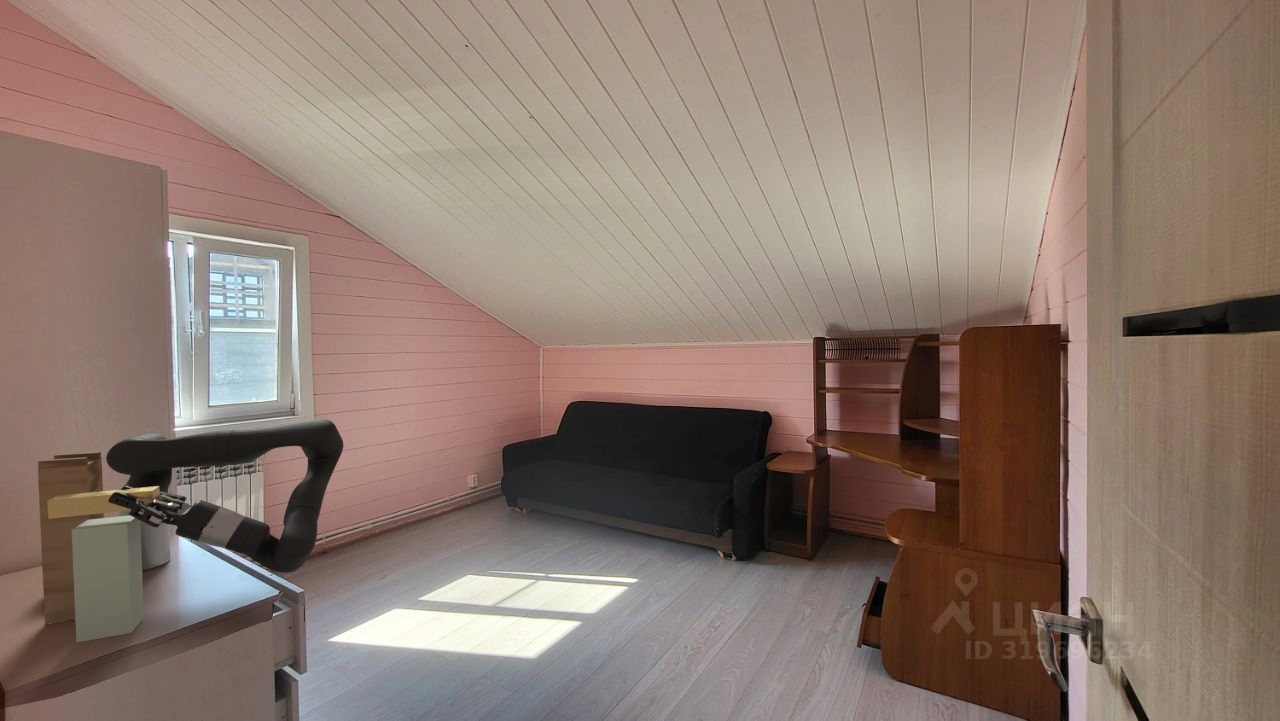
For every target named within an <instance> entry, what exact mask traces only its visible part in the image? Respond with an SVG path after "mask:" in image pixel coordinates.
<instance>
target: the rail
mask: <svg viewBox="0 0 1280 721" xmlns="http://www.w3.org/2000/svg"><path fill="white" fill-rule="evenodd" d="M116 491H119V492H122V493H124V494H128V495H131V496H134V497H137V498H141V499H144V500H148V501H153V500H158V501H159V496H160V489H159V486H154V487H143V488H132V489H123V490H121V489H113V490H103V491H100V492H90V493H79V494H68V495H58V496H56V497H54V498H52V499H50V500H48V501H47V503H48V519H52V518H62V517H71V516H80V515H90V514H99V513H104V514H107V513H117V512H118V513H119V511H127V510H129V509H128V508H125V507H122V506H119V505H116V504H113V503H110V502H109V501H108V500H109V498H110V497H111V495H112V494H113V493H114V492H116ZM147 506H148V505H147ZM154 507H155V506H154ZM154 507H153V508H154Z"/></svg>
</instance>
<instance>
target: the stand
mask: <svg viewBox="0 0 1280 721" xmlns="http://www.w3.org/2000/svg"><path fill="white" fill-rule="evenodd" d="M102 460H103V459H102V451H93V452H90V451H89V452H79V453H75V452H74V453H64V454H63V453H61V454H60V453H59V454H54V455H53V459H42V460H38V461H37V465H38V467H37V468H38V469H37V479H38V482H37V483H38V501H39V503H38V504H39V523H40V545H41V564H42V565H41V567H42V568H41V570H42V586H43V587H42V590H43V591H42V592H43V609H44V611H43V612H44V613H43V614H44V625H45V624H47V625H50V624H49V623H53V624H56V623H55V622H59V623H62V622H61V621H65V622H70V621H69V620H71V621H76V620H75V596H74V573H73V550H72V529H74V528H75V527H77V526H79V525H80V524H82V523H83V522H85V521H87V520H91V519H101V518H105V513H99V514H90V515H80V516H71V517H62V518H52V519H48V503H47V501H48V500H50V499H52V498H54V497H56V496H58V495H68V494H79V493H90V492H100V491H104V489H103V487H104V486H103V485H104V484H103V483H104V482H103V464H102V463H103V462H102Z"/></svg>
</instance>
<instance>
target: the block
mask: <svg viewBox="0 0 1280 721" xmlns="http://www.w3.org/2000/svg"><path fill="white" fill-rule="evenodd" d="M72 550H73V573H74V596H75V619H76V620H75V636H76V637H75V638H76V640H75V641H76V644H77V643H82V642H89V641H93V640H94V641H95V640H100V639H107V638H111V637H116V636H117V637H118V636H122V635H128V634H132V633H133V632H134V631H135V629H136V628H138V626H139V625H140V624H141V623H142V621H143V620H144V619H145V611H144V589H143V588H144V587H143V586H144V585H143V584H144V583H143V570H142V555H141V528H140V520H138V519H136V518H134V517H132V516H130V515H129V516H120V517H119V516H110V517H104V518H101V519H91V520H87V521H85V522H83V523H82V524H80V525H79V526H77V527H75V528H74V529H72ZM143 618H144V619H143ZM142 619H143V620H142Z"/></svg>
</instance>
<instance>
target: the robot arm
mask: <svg viewBox="0 0 1280 721" xmlns="http://www.w3.org/2000/svg"><path fill="white" fill-rule="evenodd" d="M285 447H286V448H287V447H299V448H301V450H302V452H303V453H304V456H305V457H306V458H307V467H306V468H307V469H306V472H305V476H304V478H303V479H302V480H301V482H299V483H298V484H297V485H296V486H295V488H294V489H293V490H292V492H291V494H290V497H289V499H288V503H287V505H286V509H285V513H284V515H283V516H284V517H283V526H284V527H283V530H282V533H281V536H280V537H279V538H278V537H275V536H274V535H272V534H271V528H270V525H269V524H267V523H266V522H263V521H261V520H257V519H254V518H251V517H247V516H245V515H243V514H241V513H239V512H237V511H234V510H232V509H229V508H226V507H223V506H220V505H217V504H215V503H211V502H209V501H205V500H203V499H198V500H196V501H195V502H194V503H193V505H191V504H189V503H188V502H186V500H187V498H188V497H186V496H184V495H180V494H176V493H175V494H174V493H170V492H169V488H170V485H171V483H172V478H173V469H175V468H176V469H177V468H203V467H206V468H207V467H221V466H223V467H224V466H235V465H243V464H249V463H251V462H254V461H255V460H257V459H259V458H261V457H262V456H263V455H265V454H266V453H268V452H270V451H272V450H275V449H279V448H285ZM343 449H344V439H343V438H342V436H341V434H340V432H339V429H338V428H337V426H336V425H335V423H334V421H331V420H329V419H324V418H317V419H316V418H315V419H307V420H303V421H296V422H290V423H284V424H277V425H275V424H274V425H269V426H256V427H243V428H242V427H241V428H240V427H239V428H227V429H226V428H225V429H219V430H218V429H217V430H211V431H205V432H201V433H200V432H199V433H196V434H191V435H187V436H183V437H176V438H170V439H167V438H166V437H165V436H164V435H162V434H159V433H151V432H150V433H145V434H144V433H143V434H140V435H137V436H132V437H128V438H125V439H122V440H120V441H119V442H116V443H115V444H114V445H113V446H111V448H110V449H109V450H108V452H107V453H106V457H105V461H106V463H107V465H108V467H109V468H111V470H113V471H114V472H116V473H119V474H122V475H126V476H128V475H129V478H128V480H127V482H125V484H124V485H123V486H122V487H121V488H120V490H123V489H132V488H143V487H154V486H159V489H160V496H159V501H158V500H153V501H148V500H144V499H141V498H137V497H134V496H131V495H128V494H124V493H122V492H119V491H116V492H114V493H113V494H112V495H111V497H110V498H109V500H108V501H109V502H110V503H113V504H116V505H119V506H122V507H125V508H128V509H129V510H127V511H118V513H119V515H118V517H120V516H129V515H130V516H132V517H134V518H136V519H138V520H140V528H141V555H142V571H145V570H150V569H153V568H157V567H160V566H162V565H165V564H166V563H168V562H169V561H171V538H170V537H171V536H170V535H171V534H170V525H171V526H176V527H177V528H176V529H175V535H176V536H178V537H183V538H186V539H188V540H191V541H195V542H198V543H201V544H204V545H208V546H211V547H216V548H222V549H225V550H228V551H232V552H235V553H238V554H242V555H246V556H247V557H249V558H250V559H251V560H253V561H254V562H256V563H258V564H260V565H261V566H263V567H264V568H267V569H268V570H271V571H273V572H276V573H284V574H289V573H293V572H295V571H297V570H299V569H300V568H301V567H302V566H303V565H304V563H306V561H307V559H308V558H309V556H310V555H311V553H312V552H313V551H314V548H315V546H316V541H317V537H318V520H319V517H320V514H321V509H322V506H323V505H322V504H323V502H324V498H325V495H326V494H325V493H326V490H327V488H328V484H329V483H330V481H331V478H332V475H333V473H334V471H335V468H336V466H337V464H338V462H339V460H340V458H341V456H342V454H343ZM147 505H148V506H147ZM154 506H155V507H154ZM153 507H154V508H153Z"/></svg>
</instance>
